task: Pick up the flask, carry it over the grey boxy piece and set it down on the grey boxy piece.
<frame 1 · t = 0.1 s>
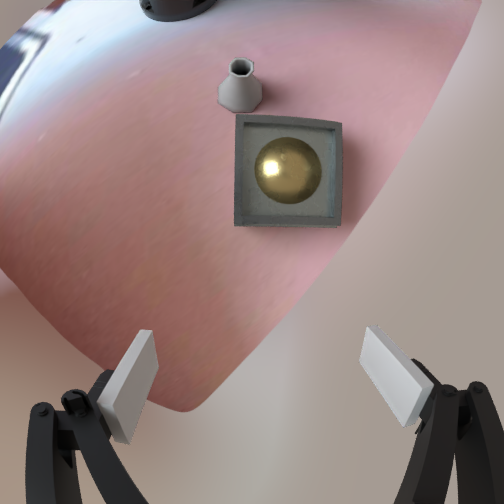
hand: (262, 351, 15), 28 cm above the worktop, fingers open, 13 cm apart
flask: (240, 93, 37), on the worktop
grey boxy piece: (281, 173, 40), on the worktop
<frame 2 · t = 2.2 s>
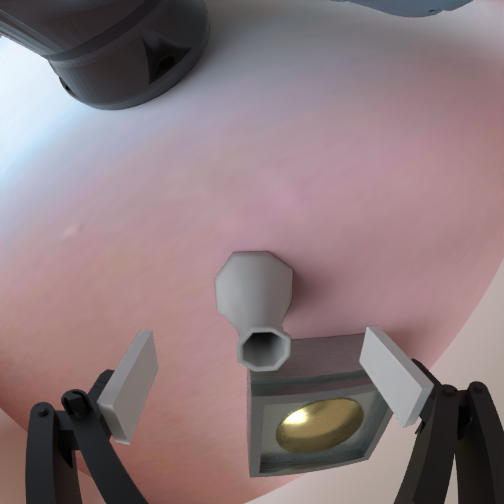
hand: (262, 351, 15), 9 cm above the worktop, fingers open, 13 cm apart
flask: (253, 287, 24), on the worktop
grey boxy piece: (308, 391, 28), on the worktop
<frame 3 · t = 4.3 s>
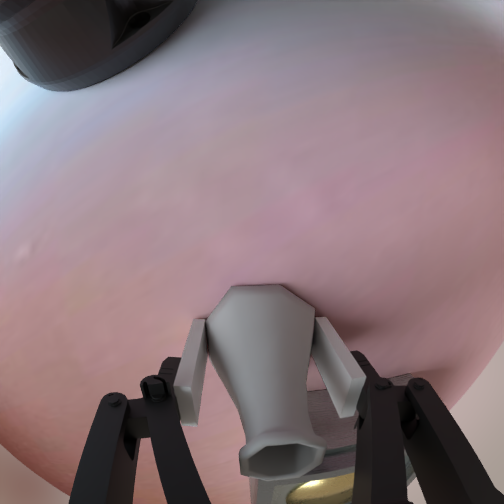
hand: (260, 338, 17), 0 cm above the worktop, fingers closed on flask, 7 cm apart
flask: (260, 332, 17), on the worktop, touching gripper
grey boxy piece: (324, 441, 20), on the worktop
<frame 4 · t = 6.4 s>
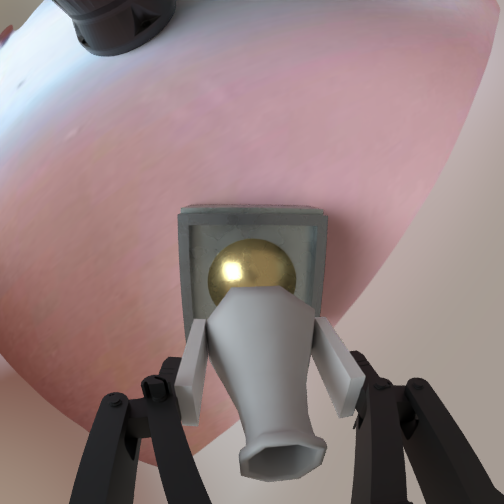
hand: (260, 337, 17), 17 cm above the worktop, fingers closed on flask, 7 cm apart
flask: (260, 332, 17), point 17 cm above the worktop, touching gripper
grey boxy piece: (249, 266, 33), on the worktop
when the fingers open (8 cm above the worktop, at t = 8.4 s): flask drops 2 cm, resting on grey boxy piece.
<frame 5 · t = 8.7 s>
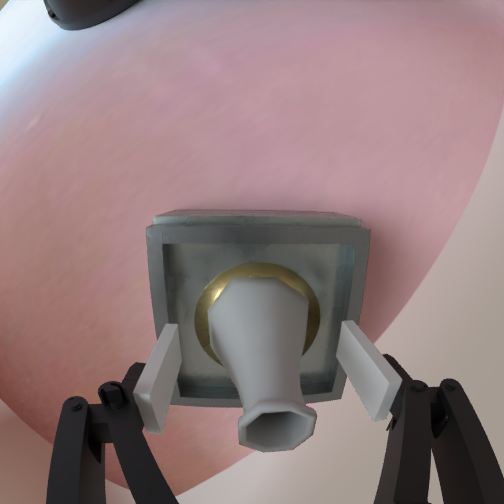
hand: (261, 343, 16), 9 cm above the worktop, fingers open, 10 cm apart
flask: (258, 321, 19), point 6 cm above the worktop, touching grey boxy piece
grey boxy piece: (253, 293, 25), on the worktop
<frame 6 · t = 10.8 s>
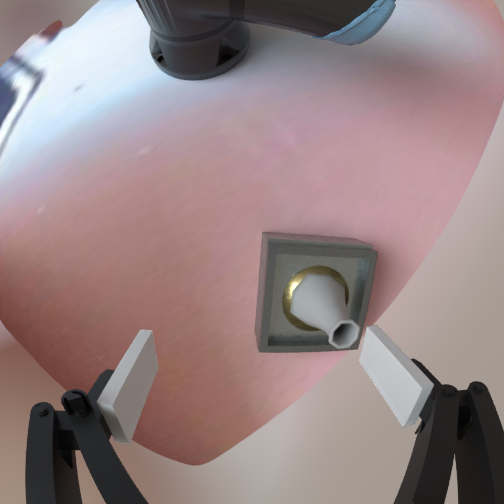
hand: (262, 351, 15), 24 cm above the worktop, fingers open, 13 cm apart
flask: (316, 298, 34), point 6 cm above the worktop, touching grey boxy piece
grey boxy piece: (305, 285, 40), on the worktop
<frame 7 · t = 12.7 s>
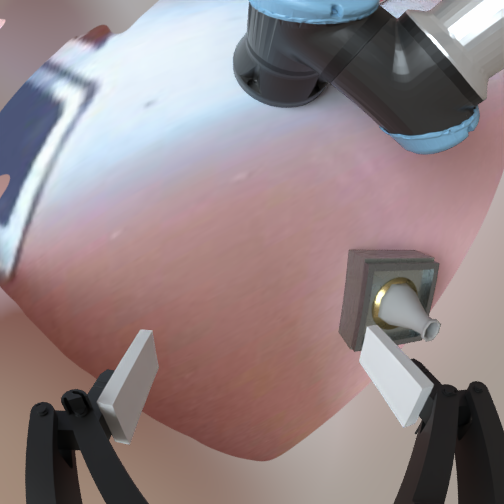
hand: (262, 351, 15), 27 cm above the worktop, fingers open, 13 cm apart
flask: (395, 302, 38), point 6 cm above the worktop, touching grey boxy piece
grey boxy piece: (379, 291, 44), on the worktop
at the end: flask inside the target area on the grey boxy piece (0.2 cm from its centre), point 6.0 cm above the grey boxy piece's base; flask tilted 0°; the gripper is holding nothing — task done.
